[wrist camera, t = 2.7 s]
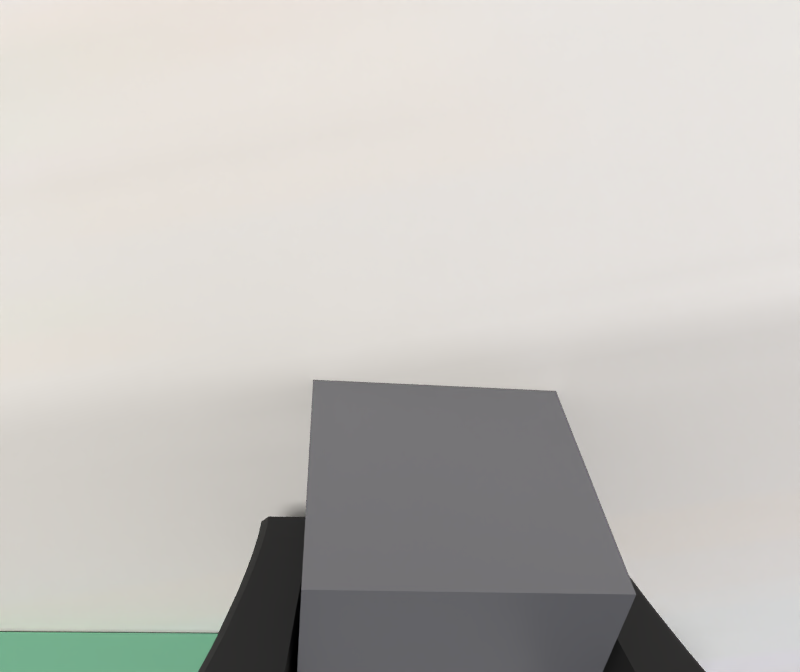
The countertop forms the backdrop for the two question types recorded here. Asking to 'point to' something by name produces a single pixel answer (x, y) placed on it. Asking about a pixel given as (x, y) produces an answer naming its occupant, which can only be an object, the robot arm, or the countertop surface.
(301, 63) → the countertop surface
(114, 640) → the board
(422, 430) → the plug
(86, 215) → the countertop surface
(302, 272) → the countertop surface
